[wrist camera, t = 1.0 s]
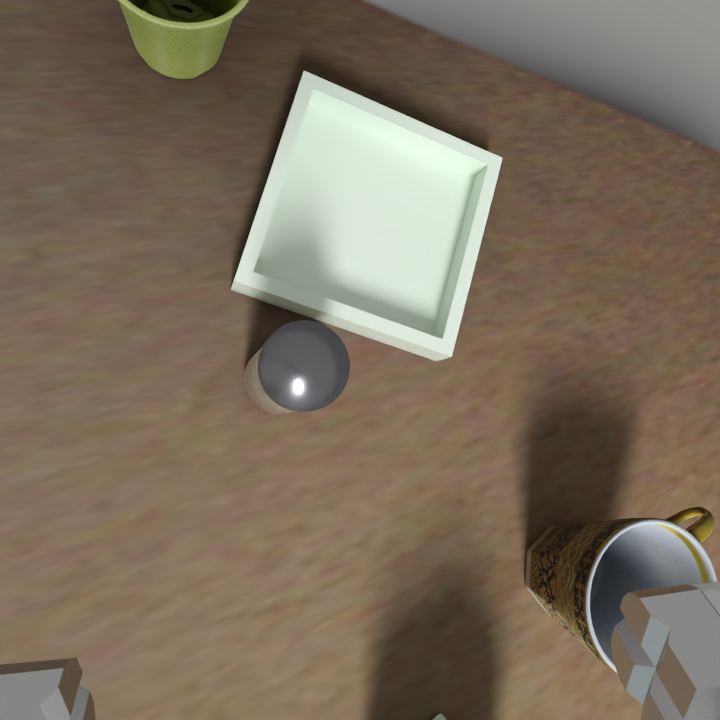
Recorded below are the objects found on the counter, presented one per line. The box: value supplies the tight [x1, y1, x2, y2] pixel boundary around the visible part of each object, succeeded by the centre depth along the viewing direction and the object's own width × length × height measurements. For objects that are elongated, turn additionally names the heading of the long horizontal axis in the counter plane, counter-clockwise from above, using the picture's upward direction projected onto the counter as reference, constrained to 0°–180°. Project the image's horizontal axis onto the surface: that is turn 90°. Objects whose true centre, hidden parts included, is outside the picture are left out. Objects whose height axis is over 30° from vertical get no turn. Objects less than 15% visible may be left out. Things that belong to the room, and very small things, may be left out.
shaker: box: [243, 320, 350, 415], centre depth 40 cm, size 5×5×10 cm
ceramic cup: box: [525, 507, 717, 673], centre depth 44 cm, size 13×10×10 cm
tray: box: [231, 71, 502, 361], centre depth 46 cm, size 16×16×3 cm
